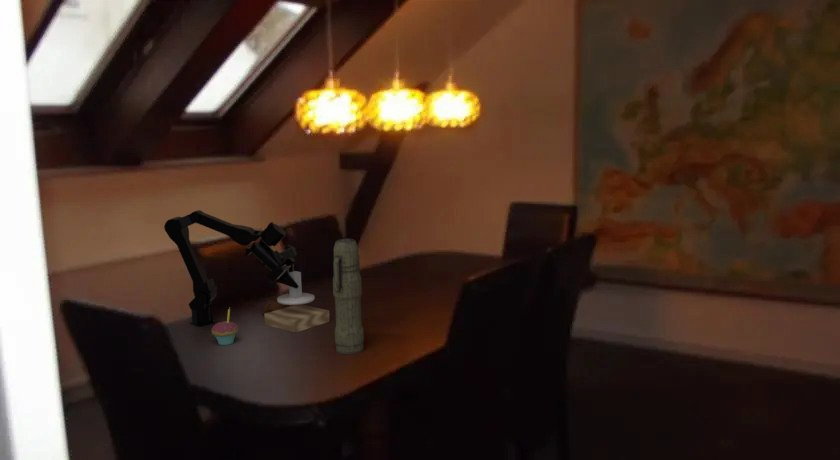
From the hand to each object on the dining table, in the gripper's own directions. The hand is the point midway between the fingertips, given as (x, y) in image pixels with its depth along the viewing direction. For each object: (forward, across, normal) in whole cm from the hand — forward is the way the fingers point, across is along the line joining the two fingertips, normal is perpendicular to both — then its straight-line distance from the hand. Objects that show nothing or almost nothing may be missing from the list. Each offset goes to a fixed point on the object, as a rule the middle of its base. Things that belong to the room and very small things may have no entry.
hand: (299, 286), depth 261 cm
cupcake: (-4, -22, +24) cm, 33 cm away
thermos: (+25, -30, -6) cm, 39 cm away
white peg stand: (+3, 0, +5) cm, 5 cm away
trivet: (+9, 0, +10) cm, 13 cm away
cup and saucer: (+2, +12, +18) cm, 21 cm away
